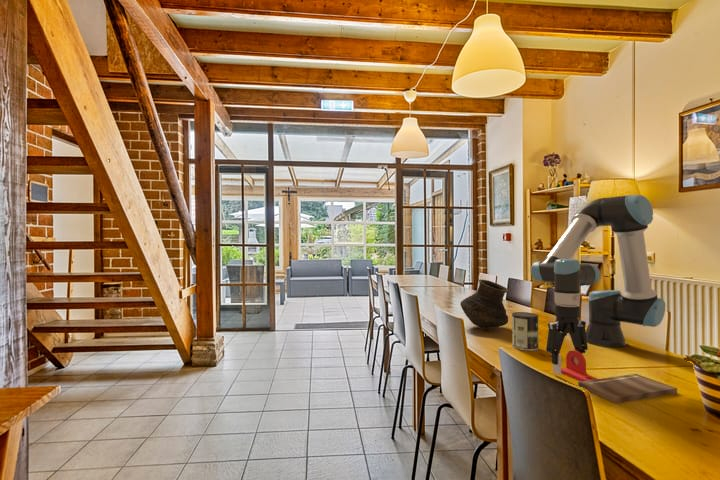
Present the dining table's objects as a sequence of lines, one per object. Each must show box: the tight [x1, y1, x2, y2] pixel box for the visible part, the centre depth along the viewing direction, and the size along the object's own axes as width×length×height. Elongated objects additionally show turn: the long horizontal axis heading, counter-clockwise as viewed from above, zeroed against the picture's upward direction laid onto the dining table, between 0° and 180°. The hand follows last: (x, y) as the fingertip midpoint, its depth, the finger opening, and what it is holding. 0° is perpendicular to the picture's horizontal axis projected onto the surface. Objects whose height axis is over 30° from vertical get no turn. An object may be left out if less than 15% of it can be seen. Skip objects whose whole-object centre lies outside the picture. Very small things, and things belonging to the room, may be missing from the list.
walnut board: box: [577, 373, 678, 404], centre depth 109 cm, size 24×12×2 cm, turn 106°
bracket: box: [561, 349, 598, 382], centre depth 119 cm, size 12×4×8 cm, turn 17°
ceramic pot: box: [460, 279, 509, 329], centre depth 186 cm, size 24×24×22 cm
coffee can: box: [511, 311, 539, 352], centre depth 153 cm, size 10×10×14 cm
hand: (567, 372), depth 121 cm, fingers open, 8 cm apart
